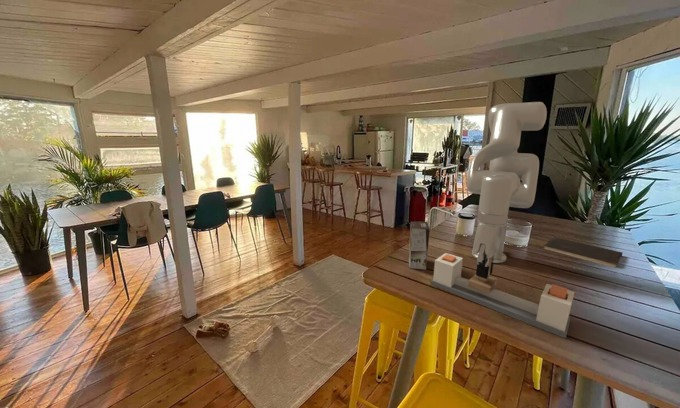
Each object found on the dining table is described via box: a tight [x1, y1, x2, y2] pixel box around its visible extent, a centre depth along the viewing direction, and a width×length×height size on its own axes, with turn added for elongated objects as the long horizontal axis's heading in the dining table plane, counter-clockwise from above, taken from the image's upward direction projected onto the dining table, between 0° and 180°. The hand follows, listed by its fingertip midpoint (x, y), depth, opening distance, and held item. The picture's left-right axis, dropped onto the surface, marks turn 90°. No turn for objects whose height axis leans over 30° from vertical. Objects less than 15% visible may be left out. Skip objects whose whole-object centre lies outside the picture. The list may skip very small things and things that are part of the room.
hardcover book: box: [543, 236, 623, 268], centre depth 117 cm, size 16×23×2 cm
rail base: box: [430, 252, 575, 339], centre depth 83 cm, size 9×36×9 cm, turn 45°
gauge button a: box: [442, 254, 456, 263], centre depth 92 cm, size 3×3×4 cm
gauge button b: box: [549, 283, 569, 300], centre depth 72 cm, size 3×3×4 cm
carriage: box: [468, 254, 498, 294], centre depth 84 cm, size 7×6×10 cm
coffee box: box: [408, 221, 431, 270], centre depth 106 cm, size 9×6×16 cm
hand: (483, 274), depth 84 cm, fingers closed on carriage, 3 cm apart
